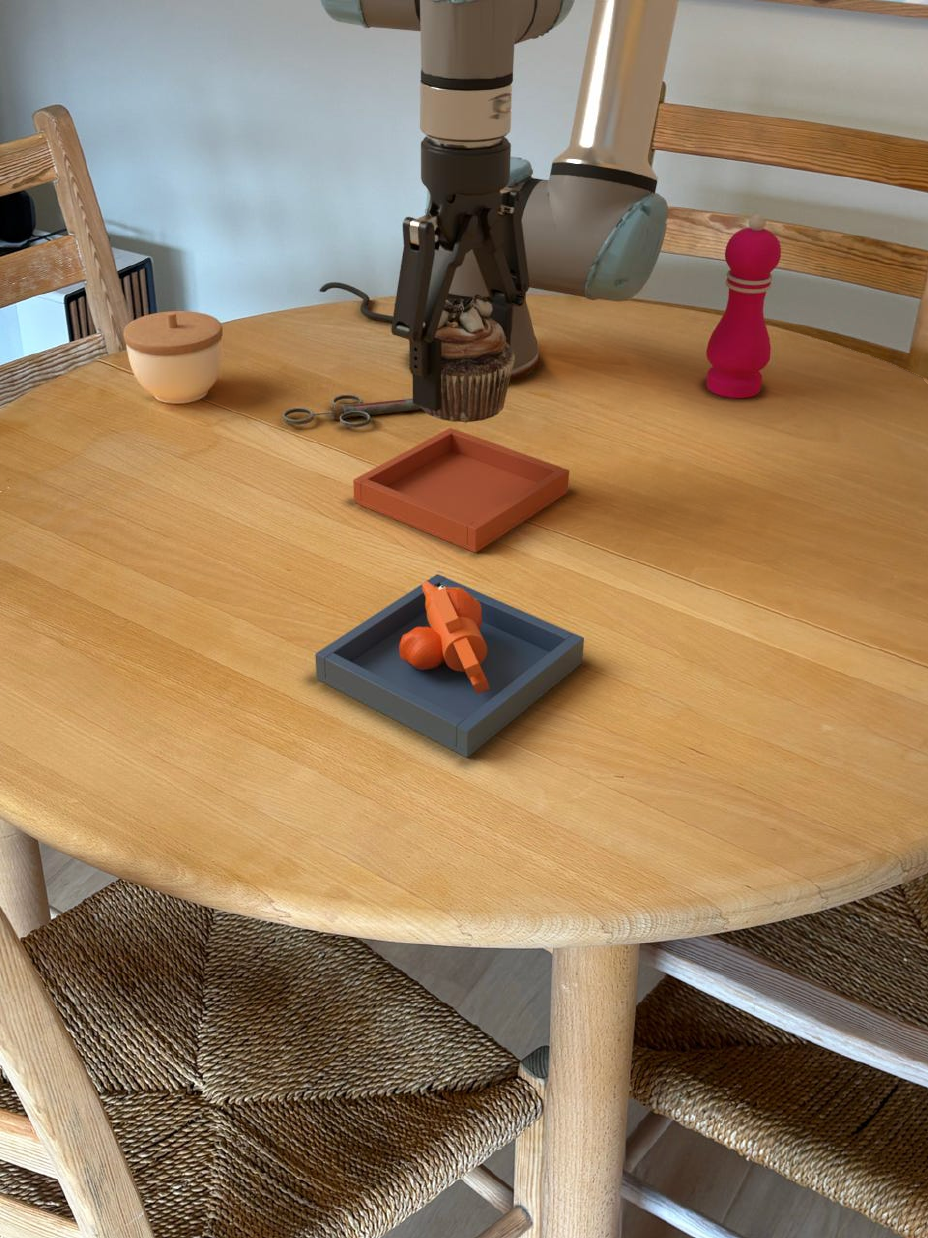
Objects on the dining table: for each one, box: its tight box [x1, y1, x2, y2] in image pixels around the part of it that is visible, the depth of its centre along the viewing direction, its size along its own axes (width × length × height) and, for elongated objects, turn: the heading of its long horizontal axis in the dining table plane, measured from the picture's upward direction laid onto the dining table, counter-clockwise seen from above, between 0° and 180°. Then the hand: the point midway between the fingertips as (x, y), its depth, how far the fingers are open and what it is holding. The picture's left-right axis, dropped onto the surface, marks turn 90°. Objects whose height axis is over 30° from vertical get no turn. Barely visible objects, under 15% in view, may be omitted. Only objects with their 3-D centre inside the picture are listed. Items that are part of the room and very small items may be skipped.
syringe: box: [282, 393, 421, 429], centre depth 137 cm, size 8×18×2 cm, turn 106°
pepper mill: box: [705, 214, 782, 399], centre depth 139 cm, size 7×7×20 cm
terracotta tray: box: [352, 427, 570, 554], centre depth 122 cm, size 15×15×2 cm
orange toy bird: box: [399, 580, 490, 694], centre depth 97 cm, size 5×8×12 cm
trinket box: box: [122, 310, 224, 405], centre depth 139 cm, size 11×11×9 cm
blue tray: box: [314, 573, 585, 759], centre depth 98 cm, size 15×15×2 cm
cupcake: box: [420, 294, 515, 423], centre depth 114 cm, size 10×10×10 cm
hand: (462, 387), depth 116 cm, fingers closed on cupcake, 10 cm apart
